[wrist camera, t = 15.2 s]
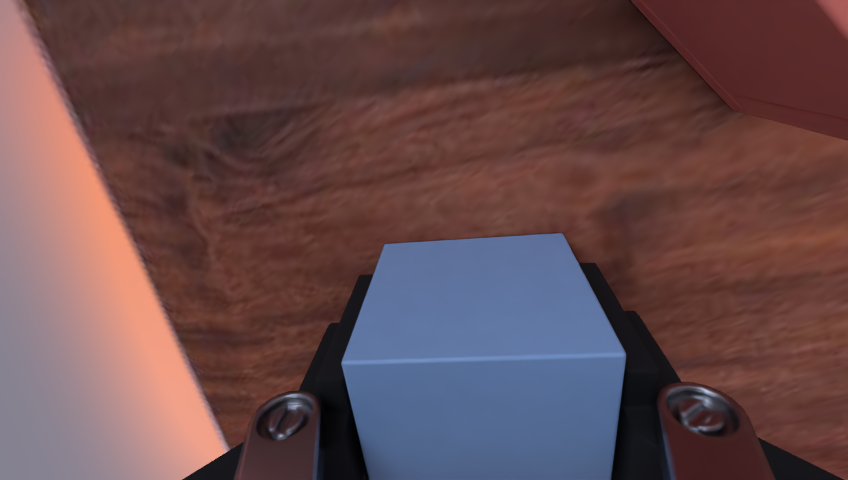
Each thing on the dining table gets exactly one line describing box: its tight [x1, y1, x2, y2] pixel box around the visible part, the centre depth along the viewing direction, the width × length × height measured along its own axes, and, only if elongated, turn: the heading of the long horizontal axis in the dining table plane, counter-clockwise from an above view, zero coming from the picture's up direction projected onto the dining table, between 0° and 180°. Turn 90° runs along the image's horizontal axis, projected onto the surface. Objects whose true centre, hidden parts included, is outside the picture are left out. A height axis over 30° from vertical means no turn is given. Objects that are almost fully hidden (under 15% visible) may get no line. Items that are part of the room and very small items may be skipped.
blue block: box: [341, 233, 626, 480], centre depth 10 cm, size 4×4×4 cm
